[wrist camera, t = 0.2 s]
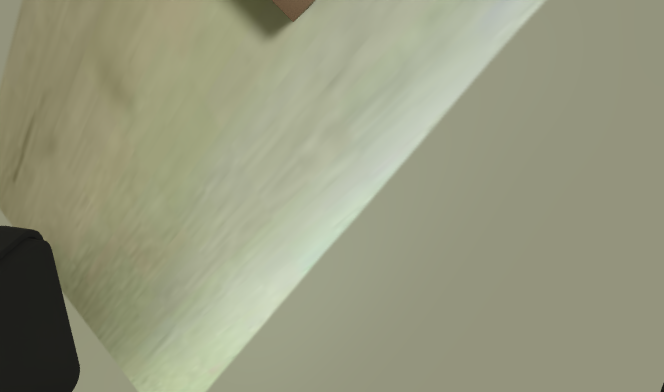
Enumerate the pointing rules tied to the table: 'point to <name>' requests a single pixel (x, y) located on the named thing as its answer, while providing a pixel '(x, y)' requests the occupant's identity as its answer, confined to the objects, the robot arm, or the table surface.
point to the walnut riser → (293, 7)
